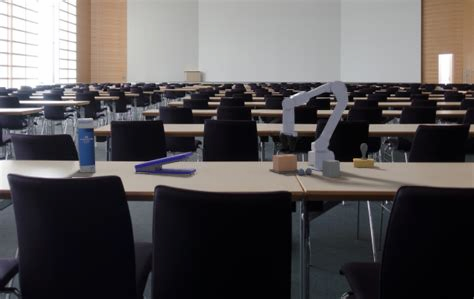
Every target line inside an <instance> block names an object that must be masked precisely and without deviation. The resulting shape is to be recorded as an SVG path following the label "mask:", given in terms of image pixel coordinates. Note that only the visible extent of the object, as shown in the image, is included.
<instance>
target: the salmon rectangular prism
mask: <svg viewBox="0 0 474 299" xmlns="http://www.w3.org/2000/svg"><path fill="white" fill-rule="evenodd" d="M272 161H273V162H272V165H273V166H272V169H273V170H275V171H291V170H297V169H298V155H295V154H292V153H290V154H289V153H288V154H277V155H276V154H275V155H274V154H273V155H272Z"/></svg>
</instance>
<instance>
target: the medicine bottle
mask: <svg viewBox="0 0 474 299" xmlns="http://www.w3.org/2000/svg"><path fill="white" fill-rule="evenodd" d="M314 143H315V141H313V142H311V150H310V151H308V152H307V153H308V156H307V157H308V159H307V161H308V162H307V164H308V166H313V167H314V150H316V149H315V147H314Z"/></svg>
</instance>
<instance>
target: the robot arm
mask: <svg viewBox="0 0 474 299" xmlns="http://www.w3.org/2000/svg"><path fill="white" fill-rule="evenodd" d="M323 93H333V95H334V96H335V99H336V105H335V107H334V108H333V109H332V110H333V111H332V113H331V115H330V117H329V118H328V121H327V123H326V125H325V126H324V128H323V130H322V133H321V134H320V135H319V137H318V138H317V139H316V140H315V141H314V142H315V143H314V147H315V149H316V150H314V166H313V167H310V169H311V170H315V171H321V172H322V162H323V160H335V154H334V152H333V151H331V150H330V149H329V148H328V147H329V146H330V139H331V137H332V135H333V133H334V131H335V129H336V127H337V125H338V123H339V122H340V121H341V120H340V119H341V118H342V115H343V113H344V112H345V110H346V108H347V105H348V103H349V95H348V88H347V86H346V84H345V82H343V80H335V81H334V80H333V82H332V81H330V82H327V83H324V84H322V85H320V86H318V87H316V88H313V89H311V90H309V91H305V90H303V91H302V90H300V91H298V92H297V93H295V94H293V95H289V97H286V98H284V99H283V100H282V101H281V106H282V129H280V131H279V135H278V138H279V140H280V142H281V147H282V149H283V150H287V149H288V146H289V151H290V152H291V151H295V148H296V145H297V142H298V140H299V138H300V136H298V131H295V107H299V106H301V105H304V104H306V103H308V102H309V101H310V99H311V98H313V97H315V96H316V97H317V96H319V95H321V94H323Z"/></svg>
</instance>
